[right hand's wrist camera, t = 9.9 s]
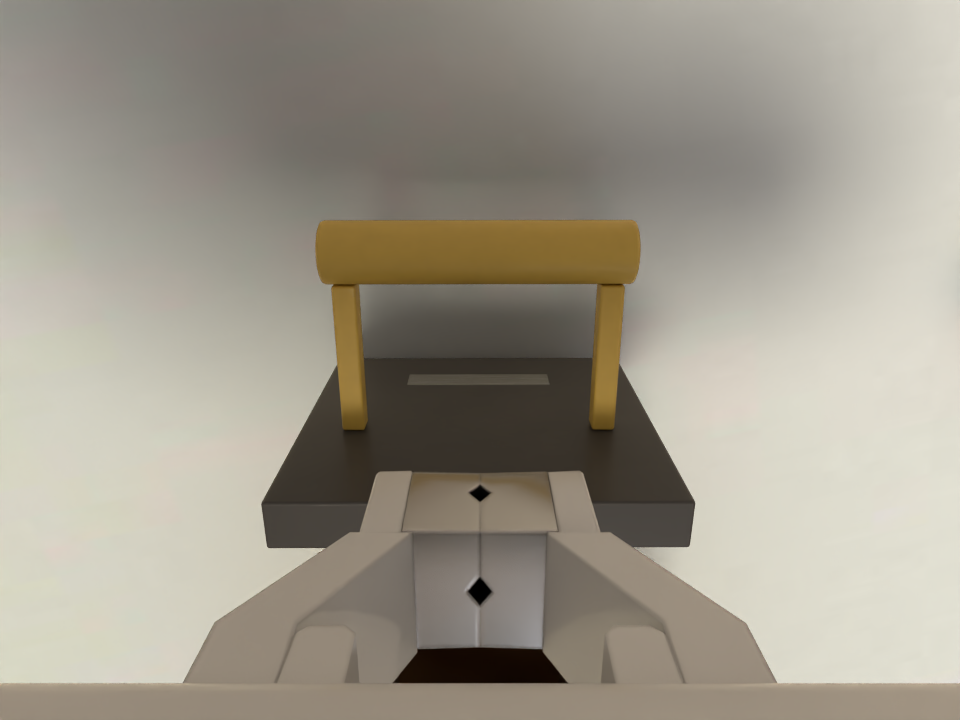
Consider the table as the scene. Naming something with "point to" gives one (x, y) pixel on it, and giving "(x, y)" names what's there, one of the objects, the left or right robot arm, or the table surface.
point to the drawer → (477, 402)
